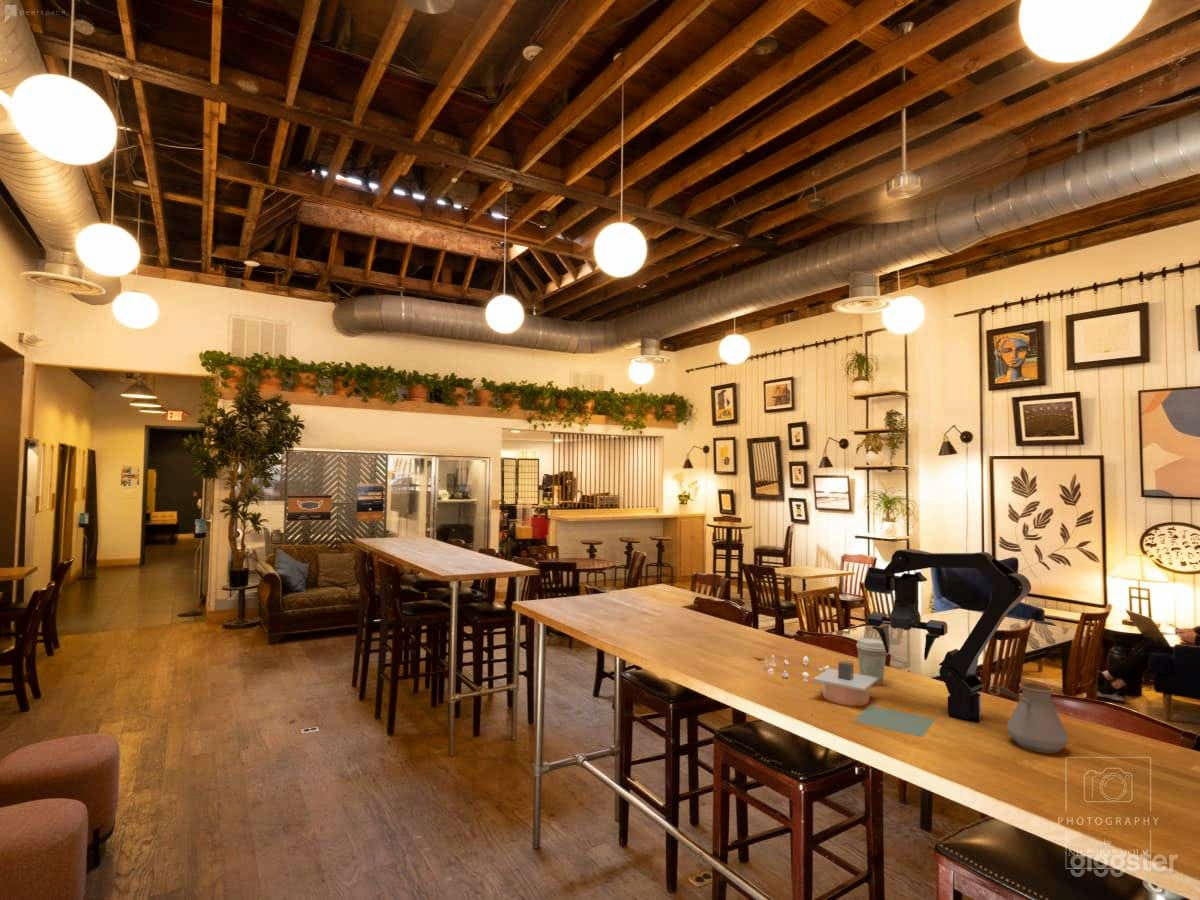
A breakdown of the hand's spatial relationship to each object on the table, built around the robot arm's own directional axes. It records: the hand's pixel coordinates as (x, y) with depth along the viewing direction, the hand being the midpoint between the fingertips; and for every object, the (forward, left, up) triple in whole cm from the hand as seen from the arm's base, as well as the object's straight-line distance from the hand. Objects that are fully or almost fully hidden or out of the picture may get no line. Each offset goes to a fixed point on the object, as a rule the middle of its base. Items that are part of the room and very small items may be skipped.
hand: (906, 656), depth 171 cm
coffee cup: (+12, -13, -12) cm, 21 cm away
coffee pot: (-27, +17, -12) cm, 34 cm away
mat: (-1, +18, -12) cm, 22 cm away
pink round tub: (+13, +9, -12) cm, 20 cm away
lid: (+13, +9, -7) cm, 17 cm away
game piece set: (+33, -9, -13) cm, 36 cm away
